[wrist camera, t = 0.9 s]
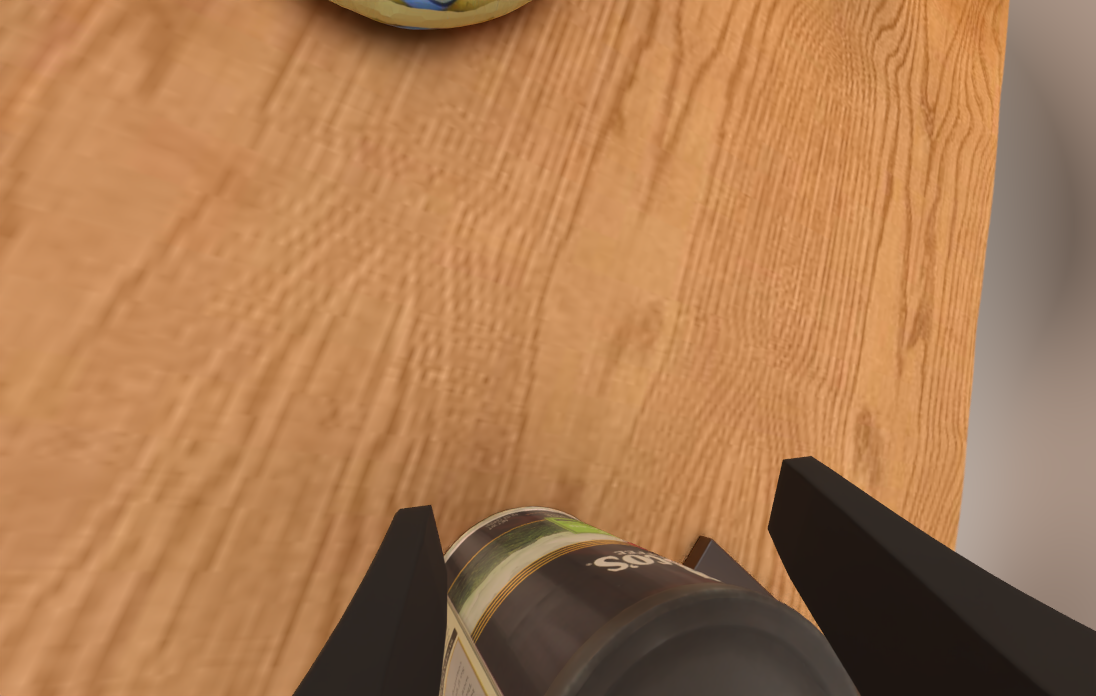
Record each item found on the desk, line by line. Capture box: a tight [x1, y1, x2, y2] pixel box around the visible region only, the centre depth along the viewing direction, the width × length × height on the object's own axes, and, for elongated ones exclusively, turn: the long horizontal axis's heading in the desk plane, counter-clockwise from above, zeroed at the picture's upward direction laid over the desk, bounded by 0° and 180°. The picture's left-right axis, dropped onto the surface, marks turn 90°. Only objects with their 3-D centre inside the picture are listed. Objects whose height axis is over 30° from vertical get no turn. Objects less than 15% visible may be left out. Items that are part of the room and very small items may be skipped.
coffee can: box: [439, 507, 858, 696], centre depth 18 cm, size 10×10×14 cm
